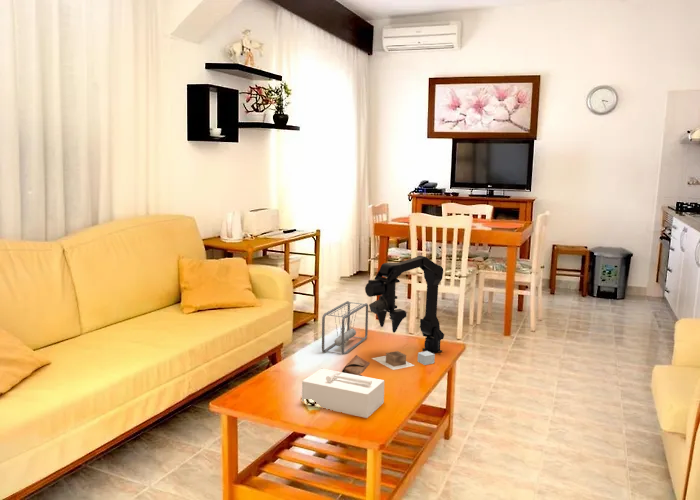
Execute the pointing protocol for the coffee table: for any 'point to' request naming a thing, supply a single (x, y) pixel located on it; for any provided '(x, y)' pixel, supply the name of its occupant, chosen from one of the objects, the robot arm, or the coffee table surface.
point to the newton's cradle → (349, 333)
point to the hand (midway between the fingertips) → (387, 329)
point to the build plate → (383, 361)
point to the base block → (395, 358)
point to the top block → (426, 357)
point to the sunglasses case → (356, 366)
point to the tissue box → (344, 392)
